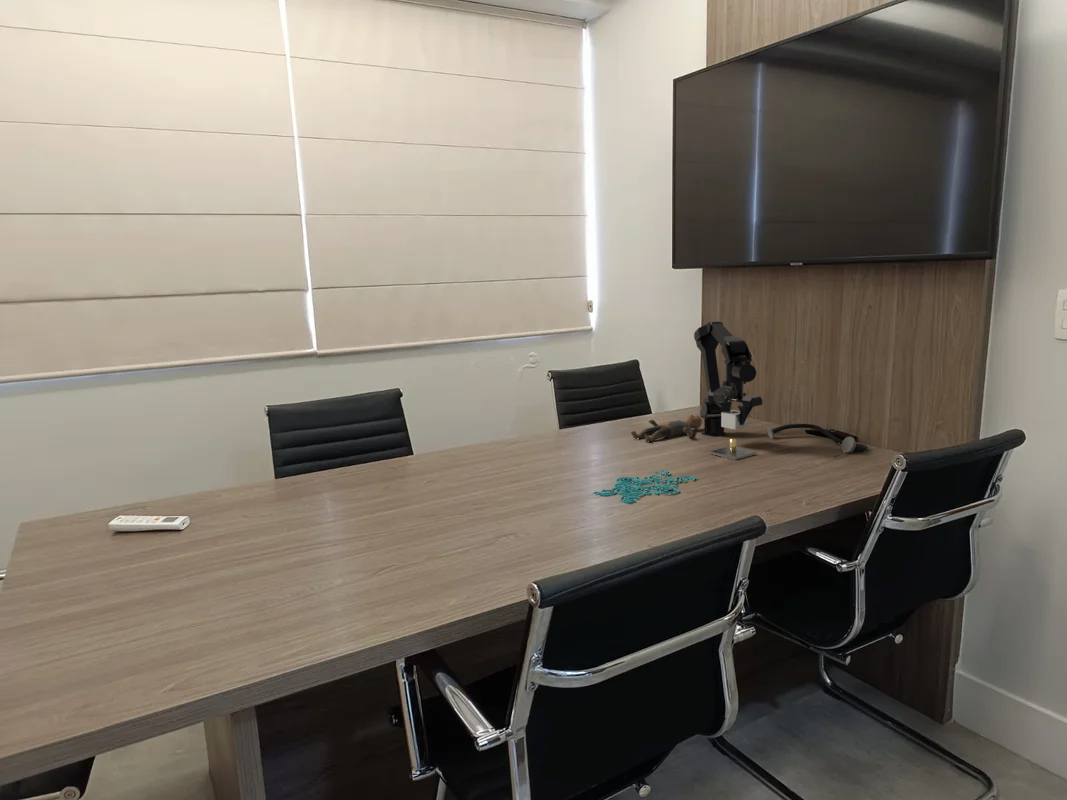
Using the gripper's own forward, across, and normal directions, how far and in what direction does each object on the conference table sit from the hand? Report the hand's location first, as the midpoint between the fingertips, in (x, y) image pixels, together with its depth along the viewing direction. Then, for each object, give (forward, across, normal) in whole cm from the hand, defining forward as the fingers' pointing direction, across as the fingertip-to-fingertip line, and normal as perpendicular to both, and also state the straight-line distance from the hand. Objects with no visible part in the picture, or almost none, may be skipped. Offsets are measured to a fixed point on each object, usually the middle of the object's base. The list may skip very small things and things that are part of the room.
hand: (734, 423), depth 232 cm
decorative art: (+8, +15, -54) cm, 57 cm away
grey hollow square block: (+1, 0, 0) cm, 1 cm away
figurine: (+8, -26, -4) cm, 27 cm away
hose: (+8, +17, +21) cm, 28 cm away
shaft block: (+8, +8, -10) cm, 15 cm away
